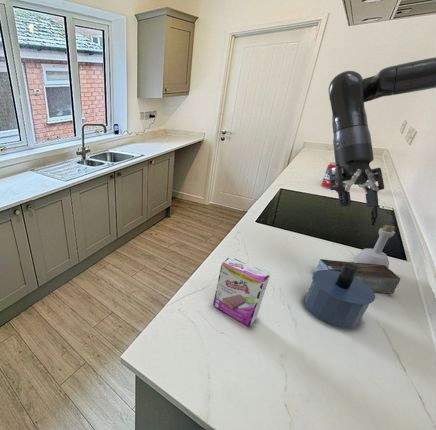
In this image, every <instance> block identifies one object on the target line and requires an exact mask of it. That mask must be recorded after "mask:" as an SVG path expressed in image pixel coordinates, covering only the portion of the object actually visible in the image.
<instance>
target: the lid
mask: <svg viewBox="0 0 436 430" xmlns="http://www.w3.org/2000/svg"><path fill="white" fill-rule="evenodd" d="M358 269H359V268H358V267H357V266H355V265H353V264H350V263H345V264H344V266H343V268H342V270H341V272H338V271H333V270H319V271H316V270H315V272H313V274H312V277H311V281H313V282H314V284H315V285H316V286H317V287H318V288H319V289H320V290H321V291H322V292H324V293H325V294H327V295H329V296H331V297H333V298H335V299H337V300H340V301H342V302H346V303H349V304H355V305H368V304H369V305H370V304H371V305H372V303H374V302H375V300H376V293H375V292H373V290H372V289H371V288H370V287H369V286H368V285H366V284H365V283H364V282H362V281H360V280H359V279H357V278H355V276H356V274H357V271H358ZM369 305H368V306H369Z"/></svg>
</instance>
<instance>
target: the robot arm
mask: <svg viewBox="0 0 436 430" xmlns="http://www.w3.org/2000/svg"><path fill="white" fill-rule="evenodd" d="M432 89H436V56H434V57H428V58H423V59H419V60H414V61H409V62H404V63H399V64H396V65H391V66H387V67H383V68H382V69H380V70H379V71H378V72H377V73H376V74H375V75H372V76H369V77H366V78H365V77H364V78H363V76H362V75H361V74H360V73H359V72H357V71H354V70H345V71H342V72H340V73H339V74H337V75H335V77H333V78H332V79H331V81H330V83H329V85H328V89H327V91H328V98H329V103H330V108H331V112H332V113H331V114H332V116H331V118H332V119H331V126H332V134H333V141H332V142H333V143H332V144H333V145H332V146H333V152H334V153H333V155H334V162H335V163H336V166H337V167H334V168H330V169H329V181H330V189H329V190H330V191H335V192H336V193H337V196H338V203H339V206H340V207H342V208H346V207H351V206H352V201H351V200H352V199H351V192H350V189H351V187H352V186H353V185H355V186H358V187H359V188H361V189H362V190H363V191H364V192H365V193H364V194H365V202H366V203H365V204H366V207H367V208H376V207H379V195H378V192H380V191H383V190H385V183H384V178H383V171H382V167H374V168H371V166H370V163H371V162H373V161H374V160H375V159H374V152H373V151H374V150H373V144H372V143H373V142H372V135H371V131H370V129H369V124H368V123H369V122H368V115H367V111H366V107H365V103H367V102H370V101H373V100H377V99H379V98H383V97H389V96H397V95H404V94H409V93H416V92H420V91H426V90H427V91H428V90H432ZM335 181H337V185H335ZM376 183H377V184H376Z"/></svg>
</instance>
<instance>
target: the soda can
mask: <svg viewBox="0 0 436 430" xmlns="http://www.w3.org/2000/svg"><path fill="white" fill-rule="evenodd" d="M334 167H337V166H336V163H335V161H333V162H330V163H329V164H328V165H327V167H326V169H325V172H324V175H323V178H322V181H321V185H320V186H321V187H323V188H325V189H329V190H331V189H330V181H329V169H330V168H334ZM335 185H337V181H335Z"/></svg>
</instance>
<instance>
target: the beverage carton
mask: <svg viewBox="0 0 436 430" xmlns="http://www.w3.org/2000/svg"><path fill="white" fill-rule="evenodd" d="M345 263H350V264H353V265H355V266H357V267H358V268H359V269H358V271H357V274H356V276H355V278H357V279H359V280H360V281H362V282H364V283H365V284H366V285H368V286H369V287H370V288H371V289H372V290H373V292H374V293H383V294H389V295H394V293H395V290H396V289H397V287H398V285H399V283H400V282H401V277H399V276H398V275H397V274H396V273H394V271H392V270H391V269H390V268H387V267H386V266H385V265H378V264H367V263H355V262H354V261H343V260H333V259H324V258H319V261H318V264H317V266H316V268H315V272H316V271H319V270H333V271H338V272H341V270H342V268H343V266H344V264H345Z"/></svg>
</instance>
